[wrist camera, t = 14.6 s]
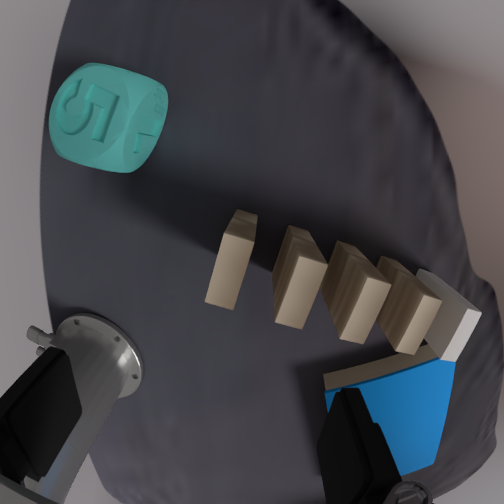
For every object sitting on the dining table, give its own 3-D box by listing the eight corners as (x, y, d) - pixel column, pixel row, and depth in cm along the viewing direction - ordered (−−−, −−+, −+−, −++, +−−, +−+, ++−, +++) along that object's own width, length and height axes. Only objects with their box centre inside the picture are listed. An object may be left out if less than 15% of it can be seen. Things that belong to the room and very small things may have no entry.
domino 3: (319, 286, 31) (339, 338, 22) (337, 240, 30) (367, 277, 20) (337, 291, 31) (363, 344, 22) (355, 246, 30) (391, 284, 20)
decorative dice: (147, 171, 29) (110, 176, 21) (83, 148, 28) (36, 149, 21) (177, 94, 27) (148, 73, 19) (109, 76, 26) (68, 57, 18)
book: (339, 493, 38) (322, 396, 31) (335, 474, 42) (317, 372, 35) (437, 462, 36) (461, 351, 29) (429, 445, 40) (446, 333, 33)
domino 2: (272, 272, 31) (274, 322, 22) (288, 224, 30) (299, 256, 20) (291, 278, 31) (301, 329, 22) (308, 230, 30) (328, 264, 20)
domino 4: (362, 298, 32) (395, 351, 22) (380, 255, 30) (423, 294, 21) (378, 303, 32) (414, 354, 22) (396, 260, 30) (442, 300, 21)
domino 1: (222, 257, 31) (204, 301, 21) (237, 208, 30) (224, 232, 20) (242, 263, 31) (233, 310, 21) (257, 215, 30) (254, 242, 20)
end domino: (400, 309, 32) (440, 359, 22) (418, 268, 30) (467, 308, 21) (414, 312, 32) (455, 362, 22) (432, 272, 31) (481, 312, 21)
